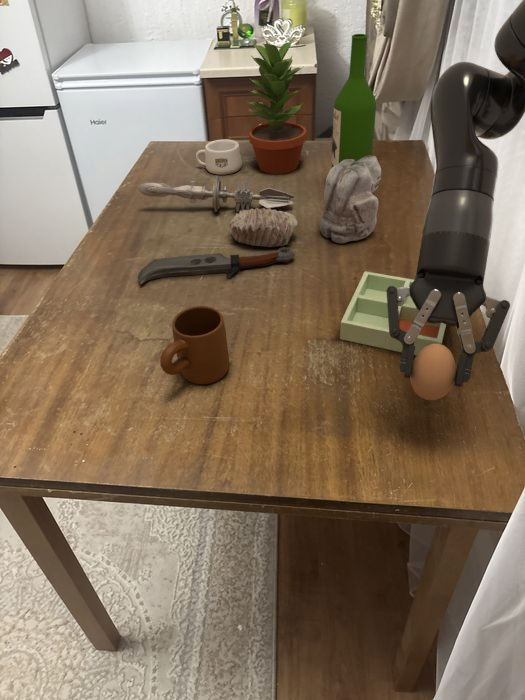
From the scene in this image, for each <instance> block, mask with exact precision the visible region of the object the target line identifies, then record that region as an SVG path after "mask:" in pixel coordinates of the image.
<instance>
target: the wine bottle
mask: <svg viewBox="0 0 525 700" xmlns="http://www.w3.org/2000/svg"><path fill="white" fill-rule="evenodd" d="M367 39H368V35H367V34H365V33H355V34H352V35H351V44H350V45H351V46H350V59H349V60H350V61H349V72H348V73H349V75H348V78H347V80H346V81H345V83H344V84H343V86H342V88H341V90H340V91H339V93H338V94H337V96H336V97H335V101H334V105H333V117H332V118H333V119H332V122H333V123H332V141H331V144H332V145H331V168H332V167H334V166H336V165H338V164H339V163H340V162H342V161H343V160H346V159H353V160H355V161H356V162H357V161H358V160H360V159H361V158H363V157H365V156H368V155H373V147H374V138H375V137H374V135H375V126H376V124H375V123H376V114H377V113H376V112H377V101H376V97H375V94H374V93H373V91H372V88H371V87H370V85H369V83H368V81H367V79H366V59H367Z"/></svg>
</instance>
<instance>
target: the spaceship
mask: <svg viewBox="0 0 525 700" xmlns="http://www.w3.org/2000/svg"><path fill="white" fill-rule="evenodd" d="M241 181H242V183H241ZM246 182H247V187H246ZM241 184H242V186H241ZM236 185H237V186H236V189H235V190H234V192H229V191H228V186H223V187H222V182H221V179H220V176H219V175H216V176H215V180H214V181H213V184H212V189H210V188H209V187H208V186H204V185H203V186H202V185H197V182H196V181H195V180H190V181H189V184H186V185H180V186H176V187H175V186H170V185H168V184H166V183H164V182H152V181H151V182H144V183H140V184H139V185H138V186H137V191H138V192H139V193H140V194H141V195H145V196H148V197H156V198H157V197H158V198H159V197H160V198H165V197H167V196H171V195H172V196H177V197H180V198H184V199H186V200H187V199H188V200H189V203H190V204H195V203H196V202H197V200H201V201H207V200H208V199H209V198H211V200H212V201H211V203H212V206H213V210H214V212H215V213H218V211H219V210H220V206H221V200H222V203H223V204H226V203H227V201H228V198H229V199H230V198H233V199H234V201H235V204H236V205H235V207H236V210H235V211H236V212H240V211H243V210H250V206H251V203H252V202H253V201H254V200H255V201H258V204H259V205H261V206H263V208H265V209H269V208H270V209H272V208H273V209H274V208H279V207H285V206H290V205H293V204H294V200H291V199H294V198H295V195H293V194H291V193H287V192H285V191H282V190H280V189H279V190H278V189H275V188H272V187H267V188H264V189H261V190H259V193H254V191H252V187H251V185H252V181H251V180H249V179H248V180H247V181H246V180H245V179H242V180H241V179H238V180H237V184H236ZM245 205H246V207H245ZM240 206H241V208H240Z"/></svg>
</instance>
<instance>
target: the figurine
mask: <svg viewBox="0 0 525 700" xmlns="http://www.w3.org/2000/svg"><path fill="white" fill-rule="evenodd" d="M381 178H382V168H381V165H380V162H379V161H378V158H377V157H376V156H375V155H373V154H372V155H368V156H365V157H363V158H361V159H360V160H358V161H357V162H356V161H355V160H353V159H346V160H343V161H342V162H340V163H339V164H338V165H336V166H334V167H332V166H331V167H330V170H329V172H328V174H327V176H326V178H325V183H324V190H323V205H324V207H323V213H322V216H321V219H320V224H319V225H320V226H319V230H320V233H321V235H322V236H323V237H325V238H326V239H331V241H332V242H333V243H335V244H347V243H348V242H355V241H359V240H363V239H366V238H367V237H368V236H370V235H371V234H372V232H374V230H375V227H376V225H377V215H378V209H379V199H378V198H377V196H376V195H374V194H373V193H374V192H375V191H376V190H378V188H379V182H380V181H381Z"/></svg>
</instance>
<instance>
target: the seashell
mask: <svg viewBox="0 0 525 700" xmlns="http://www.w3.org/2000/svg"><path fill="white" fill-rule="evenodd" d="M298 224H299V221H298V219H297V218H296V216H295V215H294V214H292V213H289V212H285V211H282V210H277V209H272V208H266V207H262V208H258V207H256V208H255V209H254V208H249V210H246V209H244V210H243V211H241V210H239V211H238V212H235V215H234V216H233V218H232V219H231V221H230V222H229V228H230V233H231V236H232V238H233V239H234V240H235V242H238V243H240V244H244V245H250V246H255V247H263V248H266V247H267V248H275V247H276V248H277V247H285V246H286V245H288V244H289V242H290V240H291V236H292V234H293V231H294V229H295V228H296V227H297V225H298Z"/></svg>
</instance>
